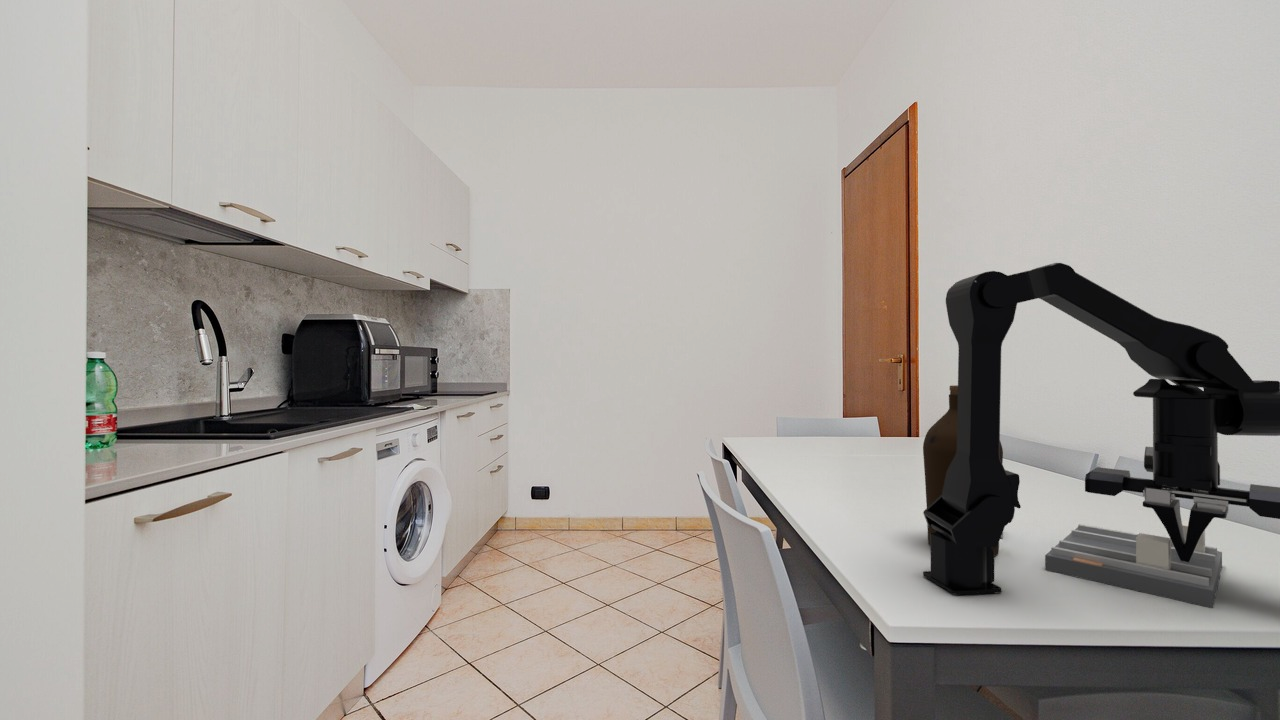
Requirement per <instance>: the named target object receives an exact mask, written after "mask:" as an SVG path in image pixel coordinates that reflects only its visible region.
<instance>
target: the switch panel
mask: <svg viewBox="0 0 1280 720" xmlns="http://www.w3.org/2000/svg"><path fill="white" fill-rule="evenodd" d="M1138 534H1139V533H1133V532H1130V531H1129V532H1127V531H1122V530H1117V529H1111V528H1103V527H1100V526H1099V527H1097V526H1093V525H1092V526H1091V525H1086V524H1081V523H1079V524H1077V527H1076V528H1075V529H1071V532H1070V533H1069V534H1068V535H1067V536H1065V537H1064V538H1063V539H1059V542H1058V543H1057V544H1056V545H1055V546H1051V549H1050V550H1049V551H1048V552H1047V553H1045V554H1044V562H1045V566H1044V570H1046V571H1050V572H1054V573H1057V574H1063V575H1067V576H1072V577H1075V578H1080V579H1084V580H1088V581H1089V580H1090V581H1092V582H1098V583H1101V584H1106V585H1112V586H1115V587H1119V588H1122V589H1123V588H1124V589H1128V590H1131V591H1132V590H1133V591H1136V592H1137V591H1138V592H1141V593H1146V594H1150V595H1155V596H1158V597H1163V598H1168V599H1172V600H1176V601H1181V602H1185V603H1189V604H1194V605H1198V606H1202V607H1206V608H1211V609H1214V604H1215V601H1216V595H1217V592H1218V586H1219V582H1220V577H1221V573H1222V569H1223V552H1222V551H1218V547H1214V546H1209V545H1205V553H1202V552H1196V551H1194V552H1193V554H1192V557H1191V559H1190V561H1189V562H1185V561H1181V560H1180V558H1179V556H1178V554H1177V552H1176V549H1175V548H1174V547H1173V543H1172V541H1171V569H1170V570H1167V569H1162V568H1157V567H1152V566H1147V565H1142V564H1137V563H1136V537H1137V536H1138Z"/></svg>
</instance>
